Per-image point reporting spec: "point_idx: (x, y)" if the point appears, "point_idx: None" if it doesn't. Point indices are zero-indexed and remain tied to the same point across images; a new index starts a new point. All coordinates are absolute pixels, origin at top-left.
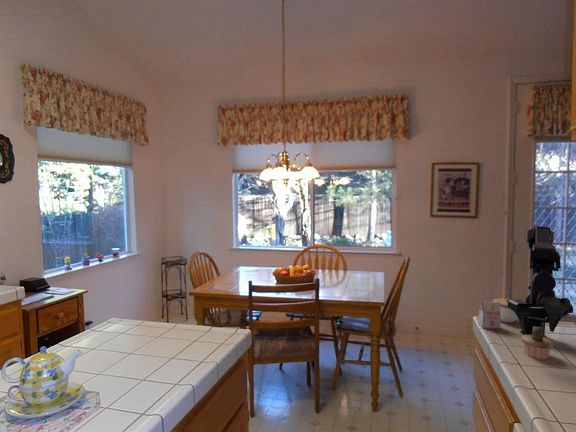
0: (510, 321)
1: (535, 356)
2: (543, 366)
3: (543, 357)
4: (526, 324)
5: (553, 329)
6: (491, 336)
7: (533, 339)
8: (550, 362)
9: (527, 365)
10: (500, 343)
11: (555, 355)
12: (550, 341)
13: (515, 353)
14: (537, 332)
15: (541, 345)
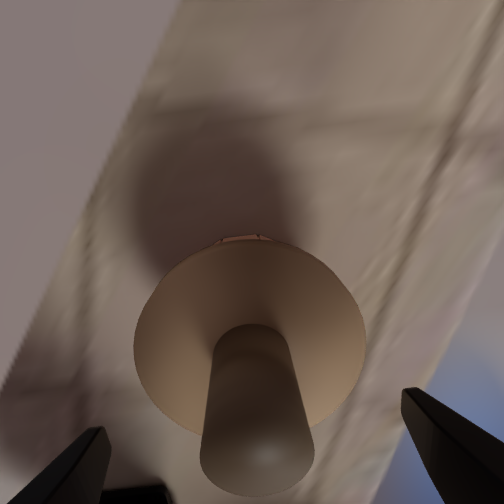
0: None
1: None
2: (306, 122)
3: (243, 238)
4: (493, 465)
5: (76, 451)
6: (360, 479)
7: (289, 351)
8: (222, 193)
9: (406, 125)
10: (367, 409)
11: (135, 301)
12: (155, 339)
13: (366, 296)
14: (284, 387)
15: (283, 248)
